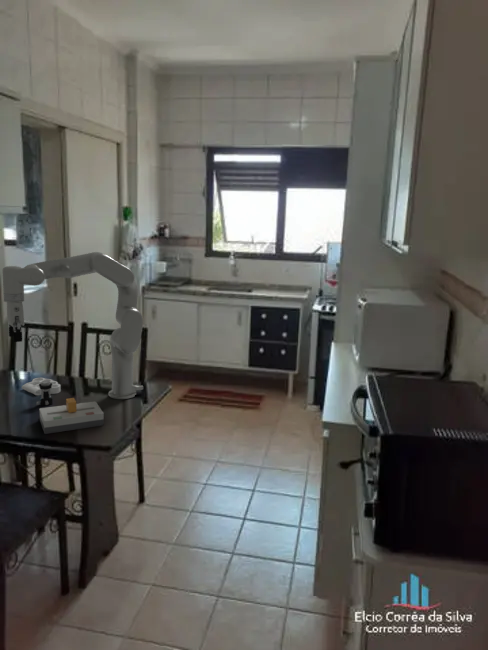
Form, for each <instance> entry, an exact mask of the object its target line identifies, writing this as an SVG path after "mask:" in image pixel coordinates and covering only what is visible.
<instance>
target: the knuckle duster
mask: <svg viewBox="0 0 488 650" xmlns="http://www.w3.org/2000/svg"><path fill="white" fill-rule="evenodd" d="M42 381H50V383H52V388H50V395H55V394H59V393H61V391H62V389H61V388H62V387H61V384H60V383H59V382H58V381H55V380H54V379H50V378H44V377H36V378H33V379H32V381H30V382H26V383H25V384H23V385H22V386H21V389H22V390H24V391H26V392H28V393H30V394H33V395H35V396H38V397H39V396H41V389H40V386H39V384H41V382H42ZM43 391H44V390H43Z"/></svg>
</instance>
